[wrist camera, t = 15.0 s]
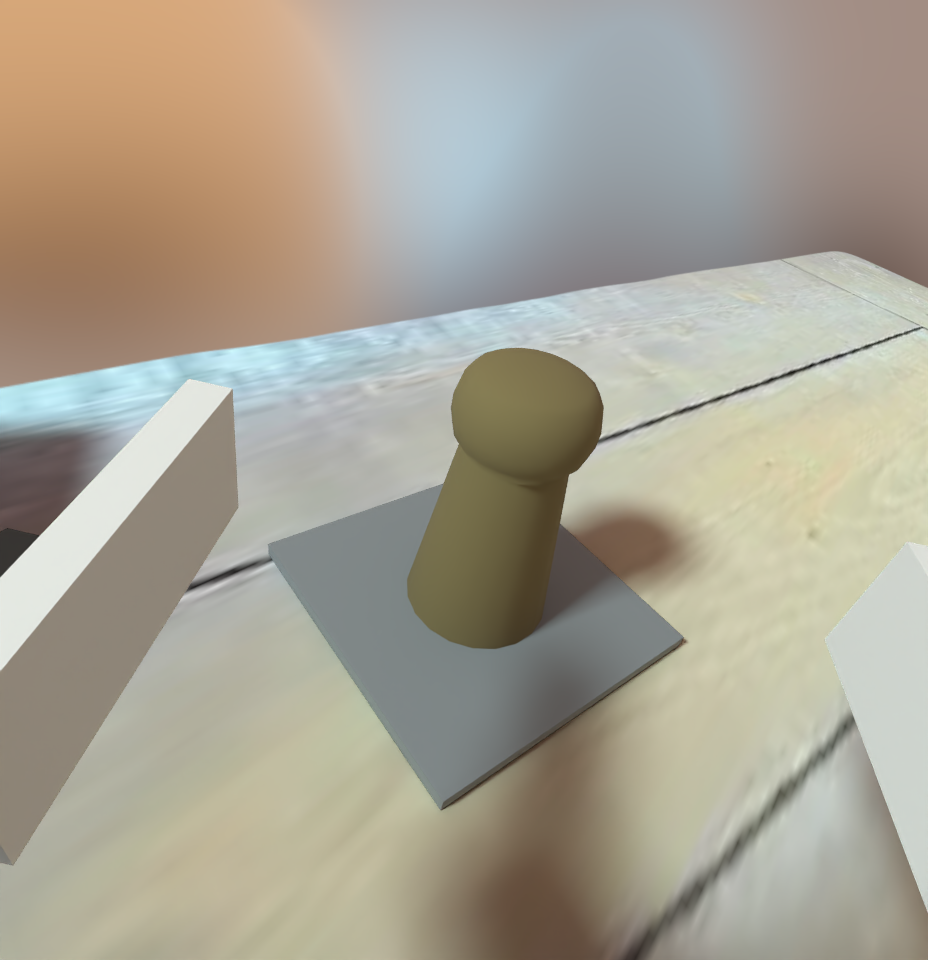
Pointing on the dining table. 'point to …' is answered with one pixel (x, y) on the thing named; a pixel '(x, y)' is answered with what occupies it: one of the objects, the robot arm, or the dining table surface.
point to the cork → (503, 496)
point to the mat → (456, 668)
